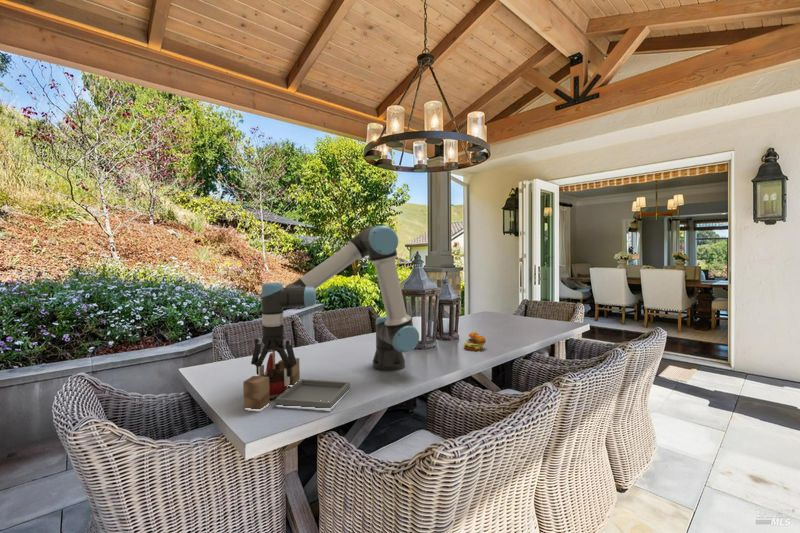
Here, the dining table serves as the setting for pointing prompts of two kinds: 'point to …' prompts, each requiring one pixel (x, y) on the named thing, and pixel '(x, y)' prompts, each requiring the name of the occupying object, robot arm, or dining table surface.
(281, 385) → the cake
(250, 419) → the dining table surface
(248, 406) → the left walnut block
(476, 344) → the cheeseburger
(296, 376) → the right walnut block
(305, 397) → the tray
